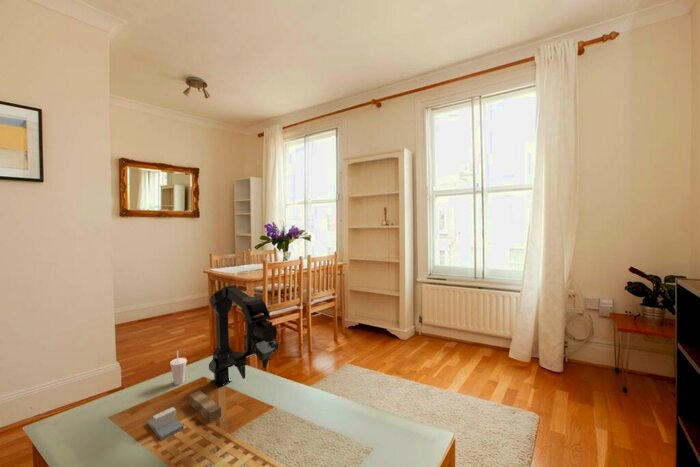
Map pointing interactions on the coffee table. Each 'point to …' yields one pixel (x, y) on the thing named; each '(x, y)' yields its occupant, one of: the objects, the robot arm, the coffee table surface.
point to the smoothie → (178, 369)
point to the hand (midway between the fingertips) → (254, 373)
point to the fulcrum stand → (165, 423)
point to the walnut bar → (205, 406)
